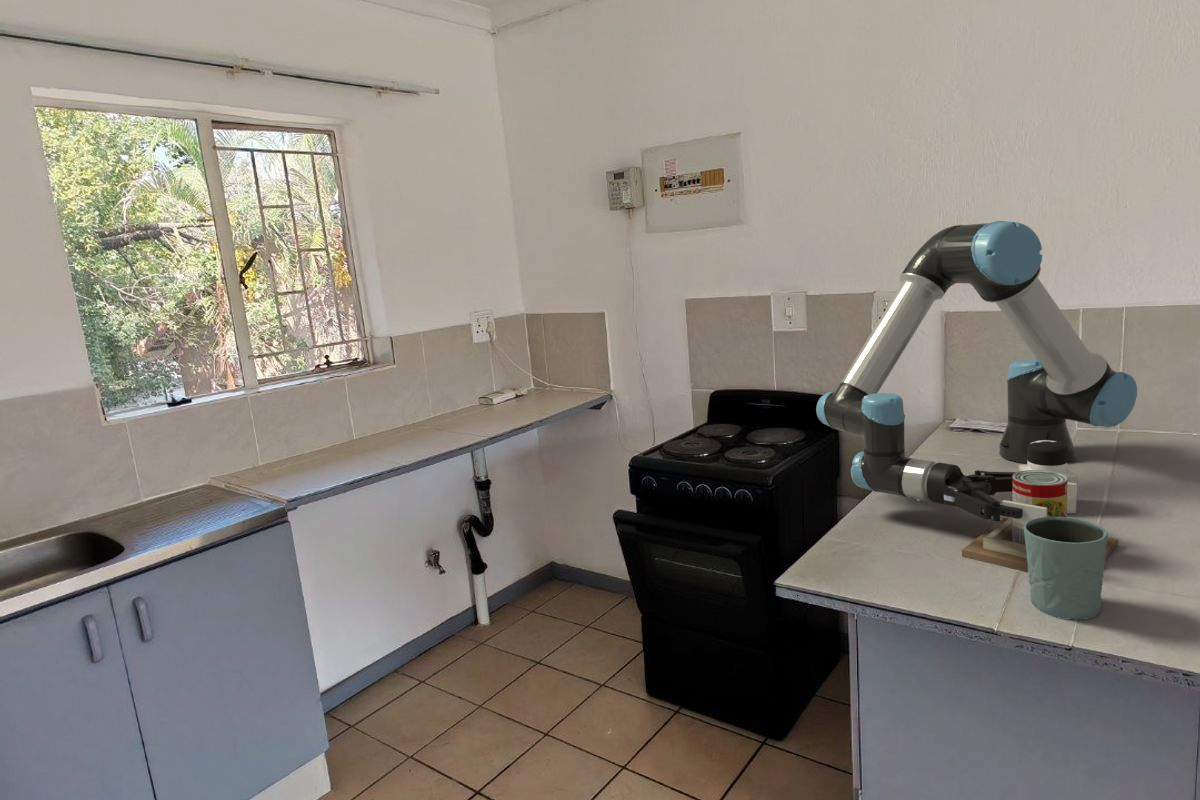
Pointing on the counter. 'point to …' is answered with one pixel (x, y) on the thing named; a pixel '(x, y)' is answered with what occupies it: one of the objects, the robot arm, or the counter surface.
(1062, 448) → the container
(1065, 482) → the canned food
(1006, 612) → the counter surface
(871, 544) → the counter surface
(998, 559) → the collar board
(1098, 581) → the green plant pot
